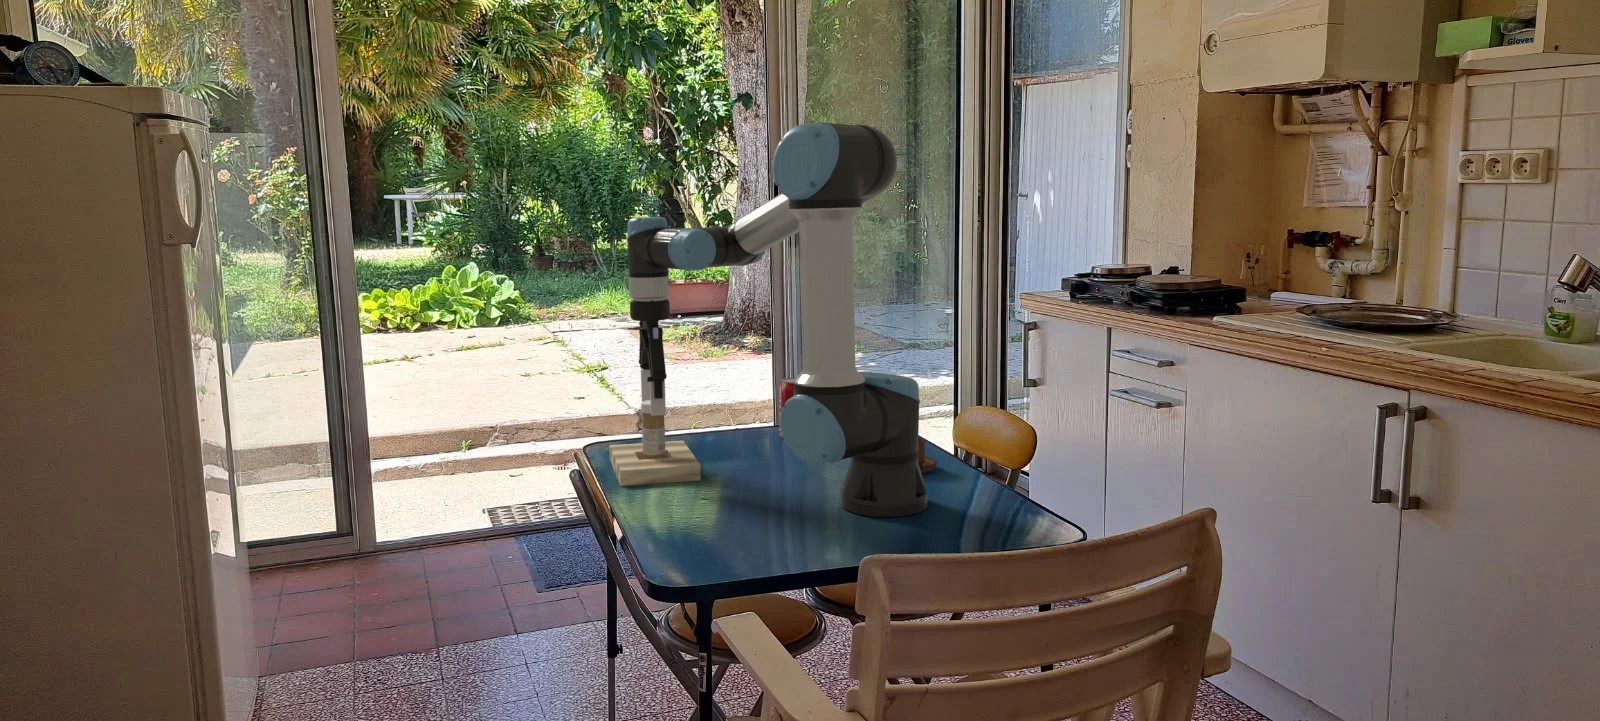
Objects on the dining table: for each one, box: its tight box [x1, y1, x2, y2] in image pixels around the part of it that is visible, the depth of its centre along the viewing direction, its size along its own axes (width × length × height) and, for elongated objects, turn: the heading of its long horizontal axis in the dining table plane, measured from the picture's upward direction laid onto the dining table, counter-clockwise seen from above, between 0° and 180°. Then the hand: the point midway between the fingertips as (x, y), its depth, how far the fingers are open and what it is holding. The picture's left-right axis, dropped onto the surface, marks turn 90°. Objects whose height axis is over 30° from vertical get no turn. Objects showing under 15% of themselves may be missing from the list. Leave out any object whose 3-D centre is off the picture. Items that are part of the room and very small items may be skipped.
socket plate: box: [608, 440, 702, 487], centre depth 216 cm, size 20×15×3 cm
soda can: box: [778, 376, 797, 440], centre depth 241 cm, size 7×7×13 cm
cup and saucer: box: [918, 436, 938, 474], centre depth 215 cm, size 12×12×6 cm
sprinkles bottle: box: [640, 400, 666, 460], centre depth 215 cm, size 5×5×14 cm
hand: (653, 408), depth 214 cm, fingers open, 13 cm apart
